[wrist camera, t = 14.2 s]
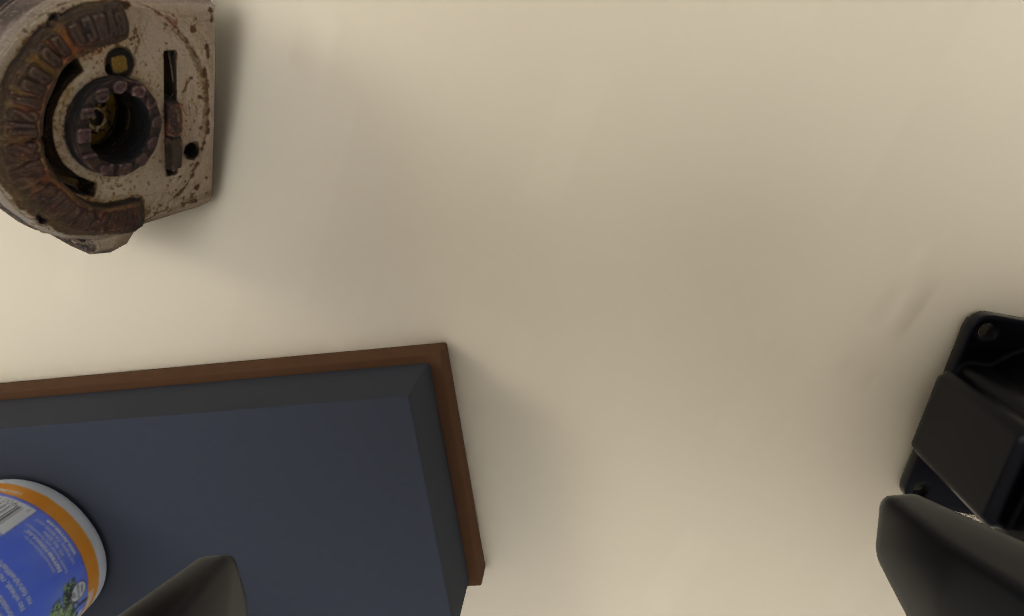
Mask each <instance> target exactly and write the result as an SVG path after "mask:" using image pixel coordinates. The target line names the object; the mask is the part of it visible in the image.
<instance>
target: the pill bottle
mask: <svg viewBox="0 0 1024 616" xmlns="http://www.w3.org/2000/svg"><path fill="white" fill-rule="evenodd" d="M106 566H107V565H106V555H105V551H104V548H103V544H102V541H101V539H100V537H99V535H98V533H97V531H96V529H95V528H94V526H93V525H92V524H91V522H90V521H89V519H88V518H87V517H86V516H85V515H84V513H83V512H82V511H81V510H80V509H79V508H78V507H77V506H76V505H75V504H74V503H73V502H71V501H70V500H69V499H68V498H66V497H65V496H63V495H62V494H60V493H58V492H57V491H55V490H53V489H51V488H49V487H47V486H45V485H42V484H39V483H36V482H32V481H27V480H20V479H3V480H0V616H81V615H82V614H83V613H84V612H85V611H86V610H87V608H88V607H89V606H90V605H91V604H92V603H93V602H94V600H95V599H96V598H97V596H98V595H99V593H100V591H101V589H102V587H103V585H104V581H105V577H106Z"/></svg>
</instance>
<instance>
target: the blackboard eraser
mask: <svg viewBox="0 0 1024 616" xmlns="http://www.w3.org/2000/svg"><path fill="white" fill-rule="evenodd" d="M3 479H20V480H27V481H32V482H36V483H39V484H42V485H45V486H47V487H49V488H51V489H53V490H55V491H57V492H58V493H60V494H62V495H63V496H65V497H66V498H68V499H69V500H70V501H71V502H73V503H74V504H75V505H76V506H77V507H78V508H79V509H80V510H81V511H82V512H83V513H84V515H85V516H86V517H87V518H88V519H89V521H90V522H91V524H92V525H93V526H94V528H95V529H96V531H97V533H98V535H99V537H100V539H101V541H102V544H103V548H104V551H105V555H106V565H107V566H106V577H105V581H104V585H103V587H102V589H101V591H100V593H99V595H98V596H97V598H96V599H95V600H94V602H93V603H92V604H91V605H90V606H89V607H88V608H87V610H86V611H85V612H84V613H83V614H82V615H81V616H118V615H120V614H121V613H122V612H124V611H125V610H127V609H128V608H129V607H131V606H132V605H134V604H135V603H136V602H138V601H139V600H141V599H142V598H144V597H145V596H146V595H148V594H149V593H151V592H152V591H153V590H155V589H156V588H158V587H159V586H160V585H162V584H163V583H165V582H166V581H167V580H169V579H170V578H172V577H173V576H175V575H176V574H177V573H179V572H180V571H182V570H183V569H184V568H186V567H187V566H189V565H190V564H191V563H193V562H194V561H196V560H197V559H199V558H200V557H203V556H211V555H223V554H228V555H231V556H232V557H233V558H234V559H235V561H236V564H237V567H238V570H239V574H240V577H241V581H242V584H243V588H244V591H245V595H246V598H247V605H248V612H247V616H460V613H461V609H462V605H463V601H464V597H465V593H466V589H467V586H475V585H481V583H482V579H483V575H484V570H485V563H484V558H483V552H482V546H481V540H480V534H479V529H478V523H477V517H476V511H475V505H474V500H473V494H472V488H471V482H470V476H469V471H468V465H467V459H466V453H465V447H464V442H463V436H462V430H461V424H460V418H459V413H458V407H457V401H456V395H455V389H454V384H453V378H452V372H451V366H450V360H449V355H448V349H447V344H446V343H435V344H424V345H413V346H402V347H391V348H380V349H370V350H359V351H348V352H337V353H326V354H315V355H304V356H293V357H283V358H272V359H261V360H250V361H239V362H228V363H217V364H206V365H196V366H185V367H174V368H163V369H152V370H141V371H130V372H119V373H109V374H98V375H87V376H76V377H65V378H54V379H43V380H32V381H22V382H11V383H0V480H3Z"/></svg>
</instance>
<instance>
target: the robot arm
mask: <svg viewBox="0 0 1024 616" xmlns="http://www.w3.org/2000/svg"><path fill="white" fill-rule="evenodd" d="M986 323H989V329H988V330H987V331H986V332H985V333H984V334H982V335H979V334H978V331H979V328H980V327H981V326H982V325H984V324H986ZM912 447H913V450H912V452H911V455H910V457H909V460H908V462H907V465H906V467H905V470H904V472H903V475H902V477H901V480H900V485H899V486H900V489H901V491H902V492H903V493H904V494H903V495H892V496H886V497H885V498H883V499H882V501H881V503H880V508H879V518H878V529H877V539H876V552H877V557H878V560H879V563H880V565H881V567H882V569H883V571H884V573H885V575H886V577H887V579H888V581H889V583H890V584H891V586H892V588H893V590H894V592H895V594H896V596H897V598H898V600H899V602H900V604H901V606H902V608H903V610H904V611H905V613H906V615H907V616H1024V318H1020V317H1015V316H1009V315H1004V314H998V313H993V312H987V311H979V312H976V313H973V314H971V315H970V316H969V317H967V318H966V320H965V321H964V323H963V325H962V327H961V330H960V332H959V335H958V337H957V340H956V342H955V345H954V347H953V350H952V352H951V355H950V357H949V360H948V362H947V365H946V367H945V370H944V372H943V374H941V375H940V376H939V377H938V378H937V381H936V383H935V386H934V388H933V391H932V393H931V396H930V398H929V401H928V403H927V406H926V408H925V411H924V413H923V416H922V418H921V421H920V423H919V426H918V428H917V431H916V433H915V436H914V438H913V441H912ZM920 483H924V485H923V487H922V488H921V489H919V490H913V489H914V487H915V486H916V485H918V484H920ZM955 511H957V512H962V513H967V514H972V515H976V516H977V517H978V518H979V519H980V521H981V522H982V523H983V524H982V523H980V522H978V521H975V520H973V519H971V518H969V517H966V516H964V515H962V514H960V513H957V512H955ZM984 524H985V525H984ZM991 527H993V528H994V529H993V528H991ZM247 612H248V605H247V598H246V595H245V591H244V588H243V584H242V581H241V577H240V574H239V570H238V567H237V564H236V561H235V559H234V558H233V557H232V556H231V555H228V554H223V555H211V556H203V557H200V558H199V559H197V560H196V561H194V562H193V563H191V564H190V565H189V566H187V567H186V568H184V569H183V570H182V571H180V572H179V573H177V574H176V575H175V576H173V577H172V578H170V579H169V580H167V581H166V582H165V583H163V584H162V585H160V586H159V587H158V588H156V589H155V590H153V591H152V592H151V593H149V594H148V595H146V596H145V597H144V598H142V599H141V600H139V601H138V602H136V603H135V604H134V605H132V606H131V607H129V608H128V609H127V610H125V611H124V612H122V613H121V614H120V615H118V616H247Z"/></svg>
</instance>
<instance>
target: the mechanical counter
mask: <svg viewBox="0 0 1024 616" xmlns="http://www.w3.org/2000/svg"><path fill="white" fill-rule="evenodd" d="M214 86H215V5H214V4H213V3H212V1H211V0H0V209H1V210H3V211H4V212H6V213H7V214H8V215H10V216H11V217H12V218H14V219H15V220H17V221H18V222H20V223H22V224H24V225H26V226H28V227H31V228H33V229H35V230H39V231H40V232H42V233H48V234H51V235H53V236H54V237H56V238H58V239H60V240H62V241H63V242H65V243H67V244H69V245H70V246H73V247H75V248H77V249H79V250H82V251H84V252H86V253H88V254H97V253H107V252H112V251H114V250H115V249H117V248H119V247H121V246H123V245H125V244H126V243H127V242H128V240H129V239H130V237H131V235H132V233H133V232H135V231H136V230H137V229H139V228H140V227H142V226H143V224H144V223H147V222H151V221H154V220H157V219H160V218H163V217H166V216H169V215H172V214H175V213H178V212H181V211H184V210H188V209H191V208H195V207H198V206H201V205H203V204H205V203H207V202H209V201H211V194H212V185H213V133H214Z"/></svg>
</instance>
